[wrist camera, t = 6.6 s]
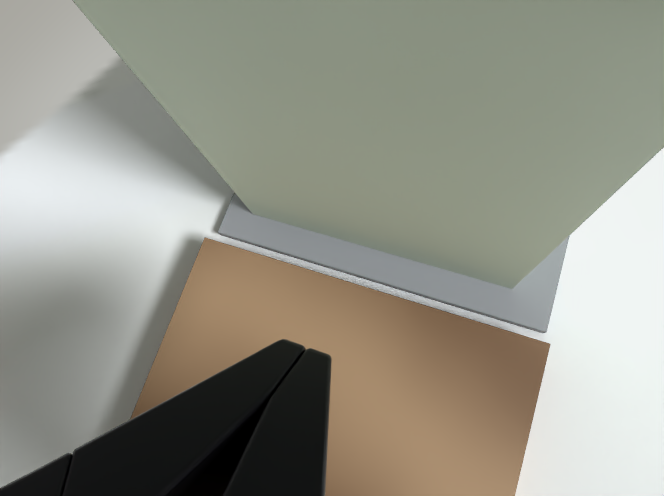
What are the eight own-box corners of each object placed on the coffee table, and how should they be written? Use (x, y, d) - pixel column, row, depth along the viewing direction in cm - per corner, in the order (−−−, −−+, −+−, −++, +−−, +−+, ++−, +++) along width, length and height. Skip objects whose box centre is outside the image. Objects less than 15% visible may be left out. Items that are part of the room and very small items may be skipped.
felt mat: (543, 332, 14) (546, 332, 14) (221, 235, 16) (217, 232, 16) (612, 43, 16) (616, 37, 16) (319, -10, 18) (318, -16, 18)
